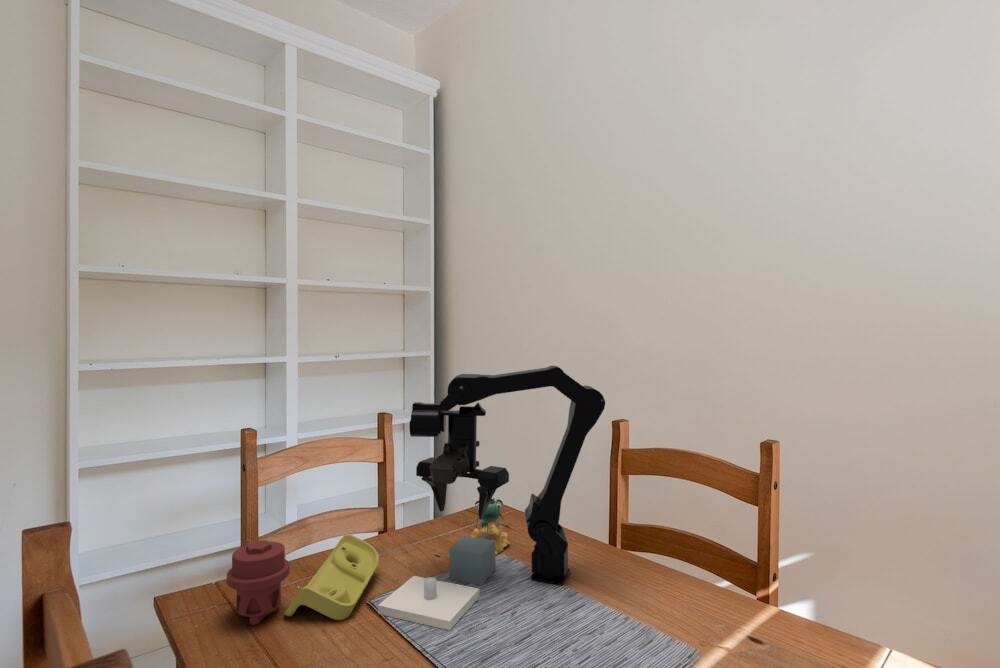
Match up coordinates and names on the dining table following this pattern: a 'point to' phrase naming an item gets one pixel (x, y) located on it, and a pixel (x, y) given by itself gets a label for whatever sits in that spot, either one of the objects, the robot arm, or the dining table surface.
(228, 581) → the mechanical component
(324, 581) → the plastic component
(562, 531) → the robot arm
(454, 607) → the base plate
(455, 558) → the slate grey cube
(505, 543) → the green and yellow piece
